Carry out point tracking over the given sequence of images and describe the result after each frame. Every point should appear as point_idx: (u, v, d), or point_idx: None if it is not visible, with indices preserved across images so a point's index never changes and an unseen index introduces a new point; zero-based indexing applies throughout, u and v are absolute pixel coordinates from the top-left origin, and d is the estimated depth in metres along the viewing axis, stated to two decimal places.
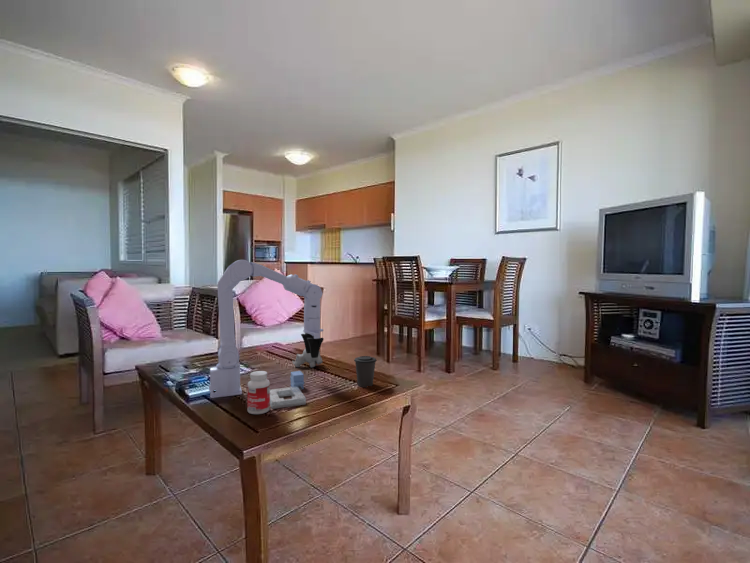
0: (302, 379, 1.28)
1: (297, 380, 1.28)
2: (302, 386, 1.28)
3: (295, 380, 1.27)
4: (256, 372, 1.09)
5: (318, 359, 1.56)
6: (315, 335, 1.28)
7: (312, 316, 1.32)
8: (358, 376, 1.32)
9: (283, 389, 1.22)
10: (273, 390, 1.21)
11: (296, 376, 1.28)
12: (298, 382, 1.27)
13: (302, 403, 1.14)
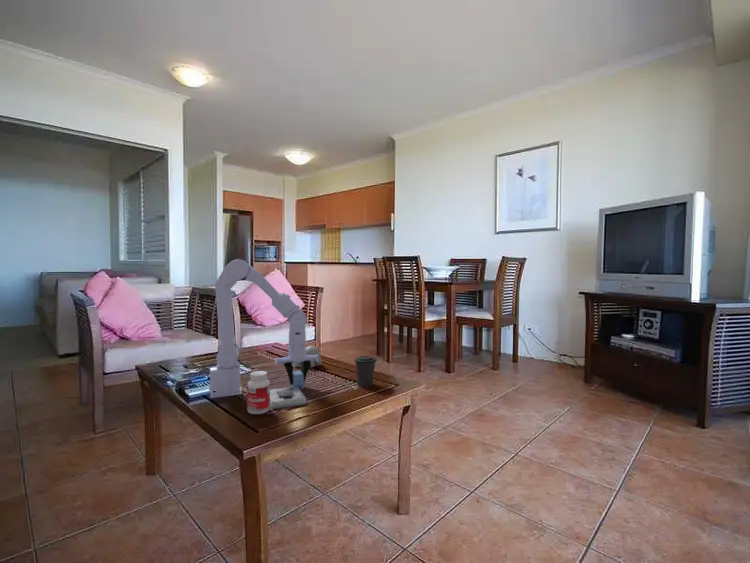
0: (302, 379, 1.28)
1: (297, 380, 1.28)
2: (302, 386, 1.28)
3: (295, 380, 1.27)
4: (256, 372, 1.09)
5: (318, 359, 1.56)
6: (275, 360, 1.28)
7: (296, 344, 1.27)
8: (358, 376, 1.32)
9: (283, 389, 1.22)
10: (273, 390, 1.21)
11: (296, 376, 1.28)
12: (298, 382, 1.27)
13: (302, 403, 1.14)
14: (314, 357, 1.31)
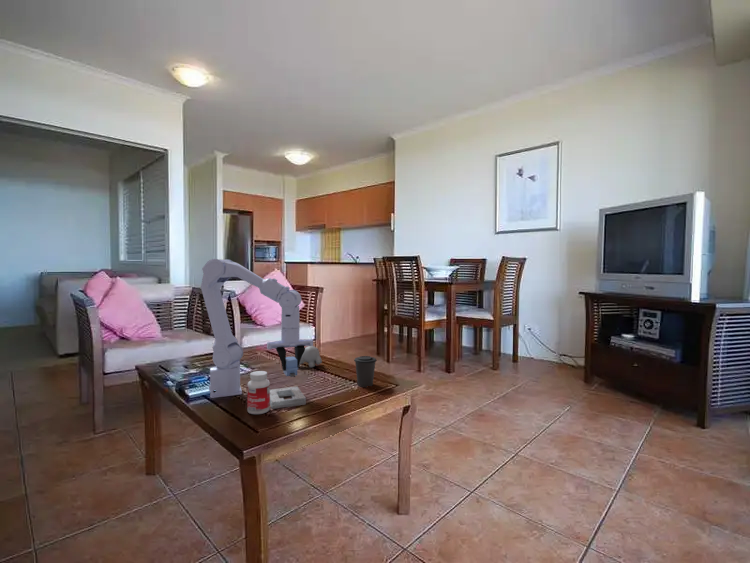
0: (296, 364, 1.21)
1: (290, 365, 1.20)
2: (296, 372, 1.21)
3: (288, 365, 1.20)
4: (256, 372, 1.09)
5: (317, 359, 1.56)
6: (267, 345, 1.20)
7: (286, 326, 1.19)
8: (358, 376, 1.32)
9: (283, 389, 1.22)
10: (273, 390, 1.21)
11: (289, 361, 1.20)
12: (291, 368, 1.20)
13: (302, 403, 1.14)
14: (308, 341, 1.24)
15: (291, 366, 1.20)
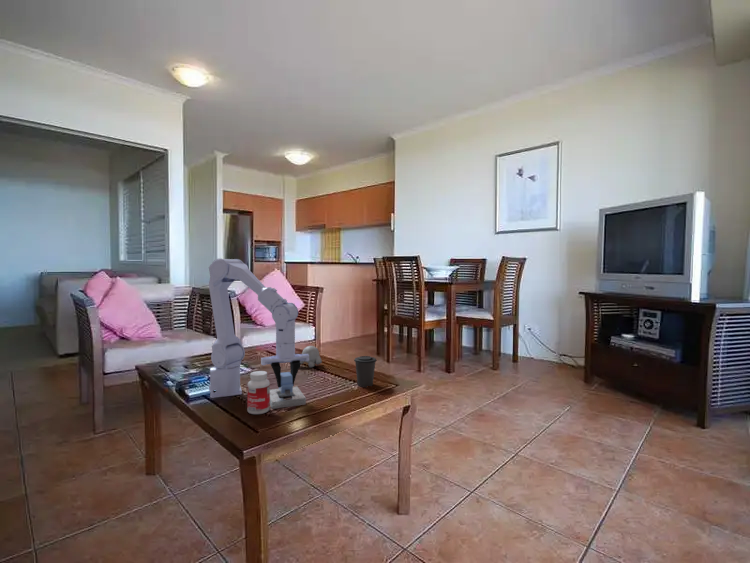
0: (291, 381, 1.16)
1: (285, 382, 1.15)
2: (291, 389, 1.16)
3: (283, 382, 1.15)
4: (256, 372, 1.09)
5: (317, 359, 1.56)
6: (261, 360, 1.15)
7: (279, 341, 1.15)
8: (358, 376, 1.32)
9: None
10: (273, 390, 1.21)
11: (284, 378, 1.15)
12: (286, 384, 1.15)
13: (302, 403, 1.14)
14: (304, 356, 1.19)
15: (286, 383, 1.15)
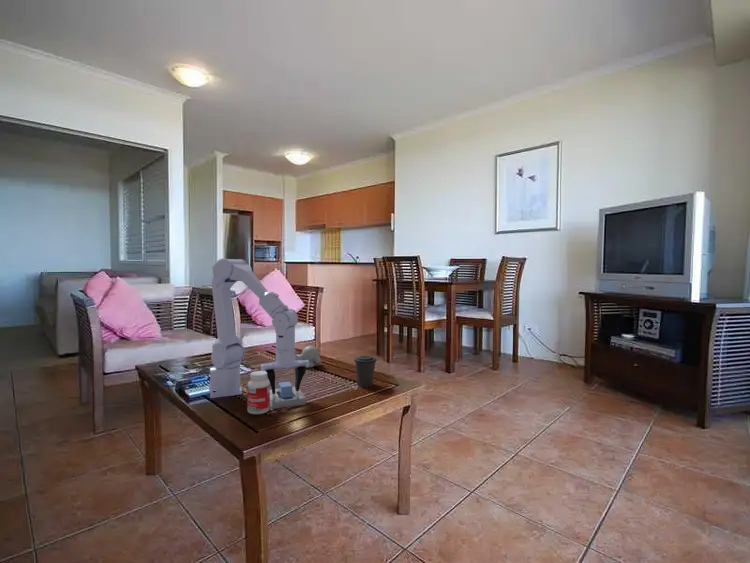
0: (291, 391, 1.16)
1: (285, 392, 1.15)
2: None
3: (283, 392, 1.15)
4: (256, 372, 1.09)
5: (317, 359, 1.56)
6: (261, 367, 1.15)
7: (279, 348, 1.15)
8: (358, 376, 1.32)
9: None
10: None
11: (284, 388, 1.15)
12: (286, 394, 1.15)
13: (302, 403, 1.14)
14: (304, 363, 1.19)
15: (286, 393, 1.15)
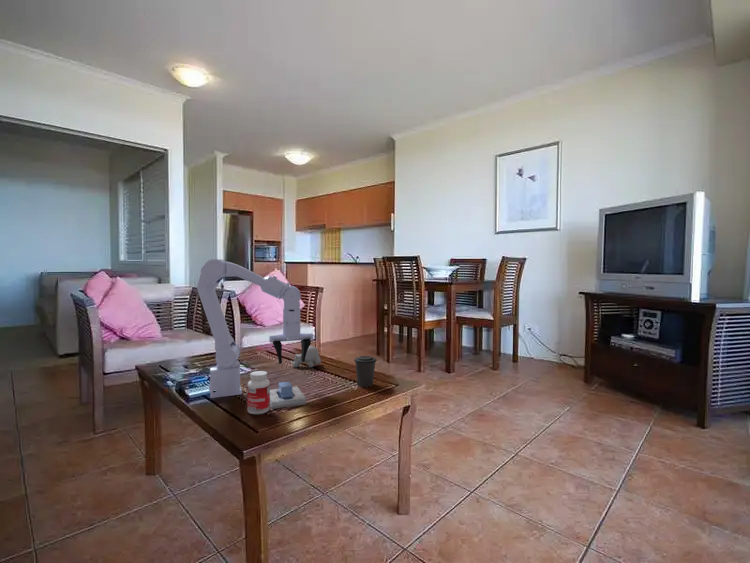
0: (291, 391, 1.16)
1: (285, 392, 1.15)
2: None
3: (283, 392, 1.15)
4: (256, 372, 1.09)
5: (317, 359, 1.56)
6: (269, 338, 1.25)
7: (289, 321, 1.24)
8: (358, 376, 1.32)
9: None
10: (273, 390, 1.21)
11: (284, 388, 1.15)
12: (286, 394, 1.15)
13: (302, 403, 1.14)
14: (309, 335, 1.29)
15: (286, 393, 1.15)
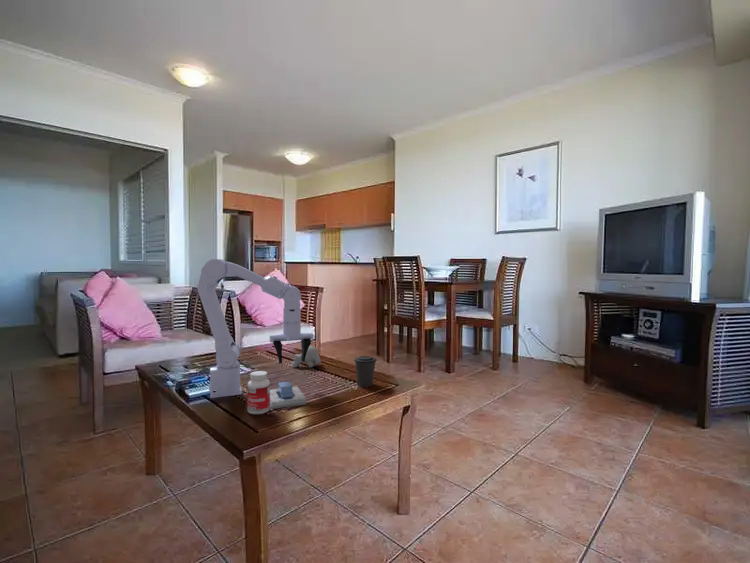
0: (291, 391, 1.16)
1: (285, 392, 1.15)
2: None
3: (283, 392, 1.15)
4: (256, 372, 1.09)
5: (317, 359, 1.56)
6: None
7: (290, 321, 1.25)
8: (358, 376, 1.32)
9: None
10: (273, 390, 1.21)
11: (284, 388, 1.15)
12: (286, 394, 1.15)
13: (302, 403, 1.14)
14: (309, 335, 1.29)
15: (286, 393, 1.15)
